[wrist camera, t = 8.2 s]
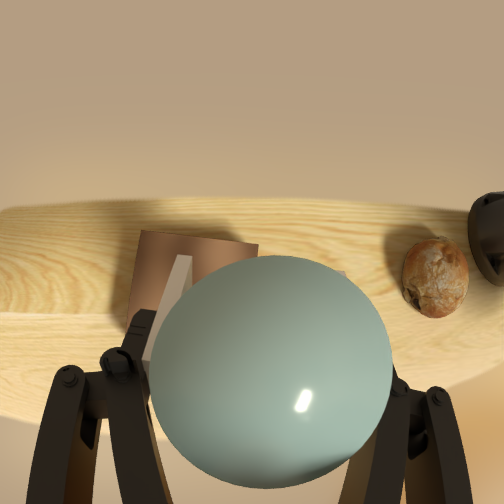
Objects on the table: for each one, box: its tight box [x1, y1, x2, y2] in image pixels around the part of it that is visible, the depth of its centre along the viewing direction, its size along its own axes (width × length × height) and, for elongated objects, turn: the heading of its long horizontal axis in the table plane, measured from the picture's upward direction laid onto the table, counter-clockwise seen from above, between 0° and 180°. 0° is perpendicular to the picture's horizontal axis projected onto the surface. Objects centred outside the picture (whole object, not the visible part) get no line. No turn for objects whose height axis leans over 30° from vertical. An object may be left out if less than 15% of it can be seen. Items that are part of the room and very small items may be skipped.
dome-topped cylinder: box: [149, 255, 393, 489], centre depth 13 cm, size 7×7×11 cm
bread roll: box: [402, 236, 469, 318], centre depth 33 cm, size 10×10×8 cm
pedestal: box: [125, 230, 259, 335], centre depth 31 cm, size 12×12×4 cm
